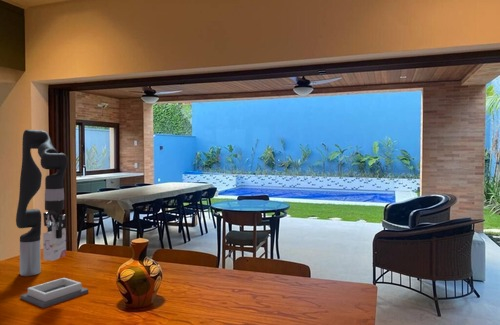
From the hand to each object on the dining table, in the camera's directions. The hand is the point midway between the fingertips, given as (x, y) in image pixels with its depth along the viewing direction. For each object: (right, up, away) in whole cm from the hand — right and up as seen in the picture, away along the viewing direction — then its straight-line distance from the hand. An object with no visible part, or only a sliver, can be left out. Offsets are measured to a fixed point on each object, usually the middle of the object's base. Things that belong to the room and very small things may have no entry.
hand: (54, 237), depth 163 cm
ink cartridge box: (0, -9, 0) cm, 9 cm away
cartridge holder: (0, -26, 0) cm, 26 cm away
